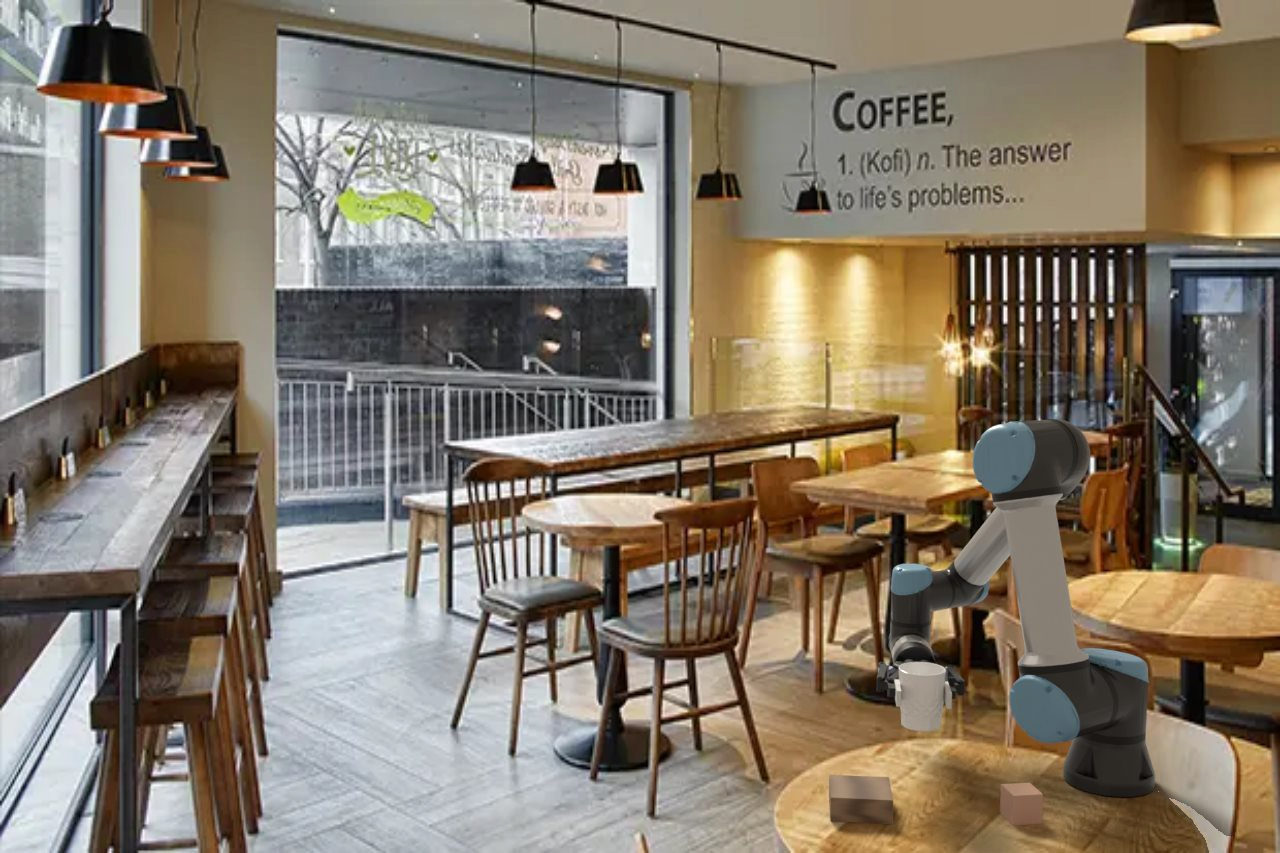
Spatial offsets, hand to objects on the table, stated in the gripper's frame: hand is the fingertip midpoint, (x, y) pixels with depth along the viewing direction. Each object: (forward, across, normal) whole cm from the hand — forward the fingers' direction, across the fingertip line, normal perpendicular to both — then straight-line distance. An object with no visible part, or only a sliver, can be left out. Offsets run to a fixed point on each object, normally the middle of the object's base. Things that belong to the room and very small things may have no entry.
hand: (924, 699), depth 212 cm
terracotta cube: (+4, -16, -18) cm, 24 cm away
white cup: (-5, 0, -6) cm, 8 cm away
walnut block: (+4, +10, -18) cm, 21 cm away
